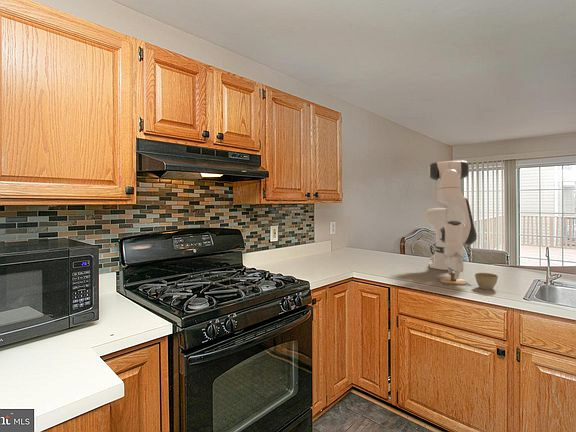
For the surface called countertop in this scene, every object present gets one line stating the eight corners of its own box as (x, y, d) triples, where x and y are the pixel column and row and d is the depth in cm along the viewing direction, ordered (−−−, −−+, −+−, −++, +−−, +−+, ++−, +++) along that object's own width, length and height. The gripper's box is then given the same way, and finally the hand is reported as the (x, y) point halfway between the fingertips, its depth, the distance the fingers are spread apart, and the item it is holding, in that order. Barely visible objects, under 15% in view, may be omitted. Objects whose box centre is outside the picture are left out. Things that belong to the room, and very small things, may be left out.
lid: (437, 278, 191) (437, 270, 191) (461, 279, 189) (462, 270, 189) (444, 284, 179) (444, 275, 178) (470, 285, 177) (471, 276, 176)
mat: (436, 279, 192) (436, 278, 192) (462, 279, 190) (462, 279, 190) (443, 285, 178) (443, 285, 178) (472, 286, 176) (472, 285, 176)
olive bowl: (476, 285, 178) (477, 271, 178) (499, 288, 172) (499, 274, 172) (472, 289, 171) (473, 275, 170) (495, 292, 164) (496, 278, 164)
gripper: (467, 254, 172) (466, 281, 173) (453, 248, 192) (453, 273, 193) (453, 254, 173) (453, 281, 174) (442, 248, 193) (441, 272, 194)
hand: (453, 277), depth 184 cm, fingers open, 8 cm apart
